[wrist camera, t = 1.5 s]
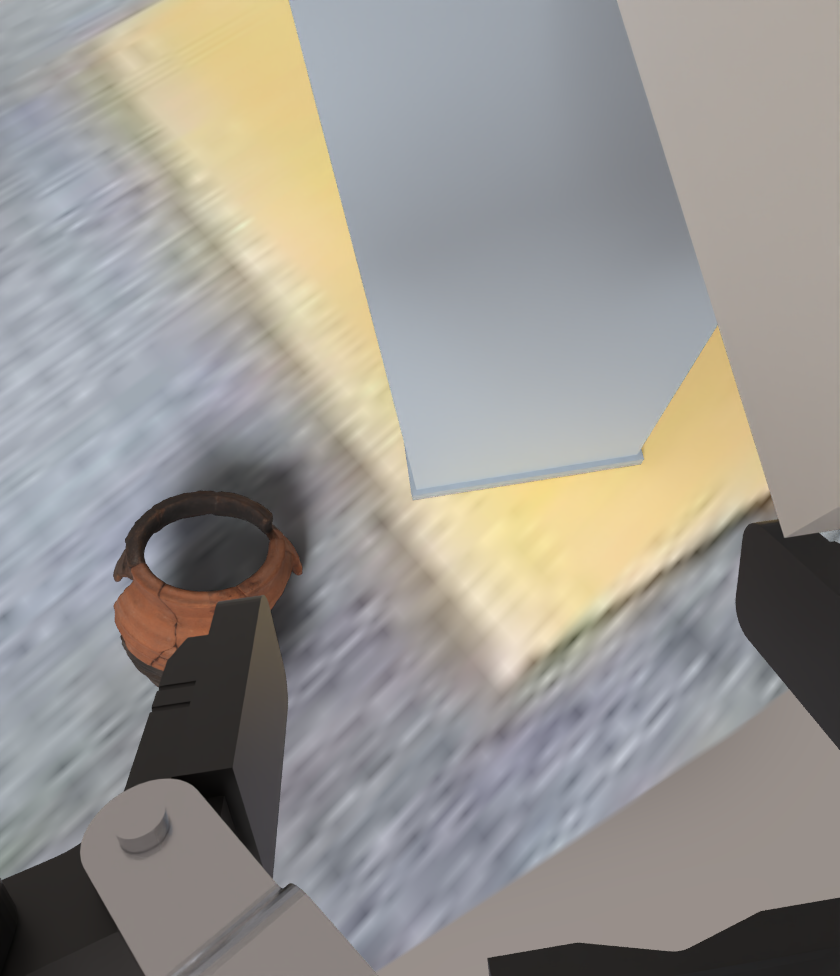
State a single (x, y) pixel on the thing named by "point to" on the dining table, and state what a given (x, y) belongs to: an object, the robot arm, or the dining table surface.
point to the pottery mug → (182, 613)
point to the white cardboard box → (761, 213)
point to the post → (508, 230)
